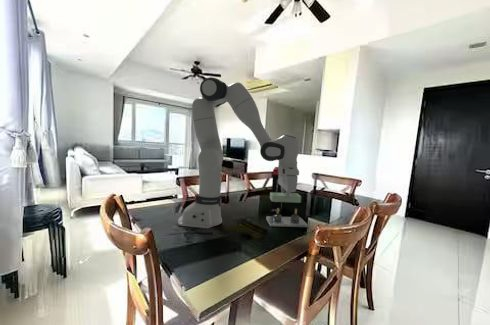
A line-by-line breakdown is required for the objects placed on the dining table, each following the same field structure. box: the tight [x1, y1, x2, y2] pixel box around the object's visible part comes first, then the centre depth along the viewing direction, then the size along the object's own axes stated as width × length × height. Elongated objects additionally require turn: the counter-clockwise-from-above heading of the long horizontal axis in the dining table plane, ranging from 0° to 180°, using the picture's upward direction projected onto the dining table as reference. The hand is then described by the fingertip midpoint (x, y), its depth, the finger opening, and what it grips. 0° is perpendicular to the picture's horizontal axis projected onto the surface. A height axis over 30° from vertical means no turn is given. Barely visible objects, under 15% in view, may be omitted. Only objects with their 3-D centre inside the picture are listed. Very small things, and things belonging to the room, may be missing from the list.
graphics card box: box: [270, 166, 283, 215], centre depth 143 cm, size 17×7×27 cm, turn 168°
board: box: [269, 191, 302, 204], centre depth 109 cm, size 14×6×3 cm, turn 95°
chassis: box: [265, 208, 308, 228], centre depth 121 cm, size 20×11×8 cm, turn 96°
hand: (285, 196), depth 109 cm, fingers closed on board, 6 cm apart
